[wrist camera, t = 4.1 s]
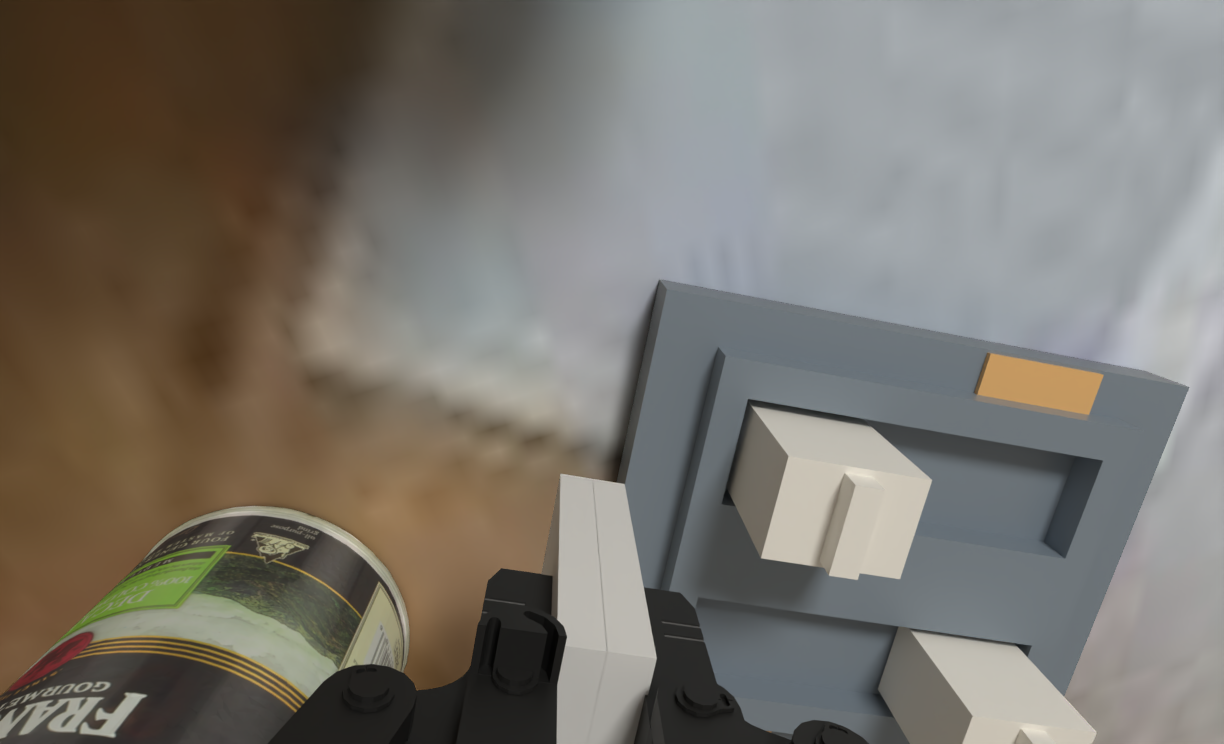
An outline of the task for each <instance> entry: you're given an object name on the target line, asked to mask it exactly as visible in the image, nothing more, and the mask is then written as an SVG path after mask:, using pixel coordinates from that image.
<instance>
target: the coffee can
mask: <svg viewBox="0 0 1224 744" xmlns="http://www.w3.org/2000/svg"><path fill="white" fill-rule="evenodd" d="M409 642H410V637H409V621H408V615H407V611H406V607H405V603H404V601H403V598H402V596H401V593H400V591H399V589H398V586H397V585H396V583H395V581H394V580H393V578H392V576H391V574H390V572H389V571H388V569H387V568H386V567H385V566H384V564H383V563H382V562H381V561H380V560H379V559H378V558H377V557H376V556H375V555H374V553H373V552H372V551H371V550H370V549H369V548H367V547H366V546H365V545H364V544H363V543H361V542H360V541H359V540H358V539H357V538H355V537H354V536H353V535H351V534H350V533H348V532H346V531H345V530H343V529H341V528H339V527H338V526H336V525H334V524H332V523H330V522H328V521H326V520H323V519H321V518H318V517H315V516H313V515H310V514H307V513H304V512H301V511H297V510H293V509H287V508H280V507H270V506H244V507H233V508H228V509H223V510H218V511H215V512H212V513H208V514H205V515H202V516H200V517H197V518H194V519H192V520H190V521H188V522H186V523H184V524H182V525H181V526H179V527H177V528H176V529H174V530H173V531H172V532H170V533H169V534H167V535H166V536H165V537H164V538H163V539H162V540H161V541H159V542H158V543H157V544H156V545H155V546H154V547H153V548H152V550H151V551H150V552H149V553H148V555H147V556H146V557H145V558H144V559H143V561H142V562H141V563H139V564H138V565H137V566H136V567H135V568H134V569H133V570H132V571H131V572H130V573H129V574H128V575H127V576H126V577H125V578H124V579H123V580H122V581H120V582H119V583H118V584H117V585H116V586H115V587H114V589H113V590H112V591H110V592H109V593H108V594H107V595H106V596H105V597H104V598H103V599H102V600H101V601H100V602H99V603H98V604H97V605H96V606H95V607H94V608H93V609H92V610H90V611H89V612H88V613H87V614H86V615H85V616H84V617H83V618H82V619H81V620H80V621H79V622H78V623H77V624H76V625H75V626H74V627H72V628H71V629H70V630H69V631H68V632H67V633H66V634H65V635H64V636H63V637H62V638H61V639H60V640H59V641H58V642H57V643H56V644H54V645H53V646H52V647H51V648H50V649H49V650H48V651H47V652H46V653H45V654H44V655H43V656H42V657H41V658H40V659H39V660H38V661H37V662H36V663H35V664H33V665H32V666H31V667H30V668H29V669H28V670H27V671H26V672H25V673H24V674H23V675H22V676H21V677H20V678H19V679H18V680H17V681H16V682H15V683H13V684H12V685H11V686H10V687H9V688H8V689H7V690H6V691H5V692H4V693H3V694H1V695H0V744H267V743H268V742H269V741H270V740H271V739H272V738H273V737H274V736H275V735H276V733H277V732H278V731H279V730H280V729H281V728H282V727H283V726H284V725H285V724H286V722H287V721H288V720H289V719H290V718H291V717H292V716H293V715H294V714H295V712H296V711H297V710H298V709H299V708H300V707H301V706H302V705H303V704H304V703H305V701H306V700H307V699H308V698H309V697H310V696H311V695H312V694H313V693H314V691H315V690H316V689H317V688H318V687H319V686H320V685H321V684H322V683H323V682H324V681H325V680H326V679H327V678H329V677H330V676H331V675H333V674H334V673H335V672H337V671H339V670H342V669H345V668H348V667H351V666H354V665H366V664H376V665H382V666H388V667H391V668H394V669H396V670H398V671H400V672H402V673H403V672H404V669H405V666H406V664H407V657H408V652H409Z"/></svg>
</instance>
